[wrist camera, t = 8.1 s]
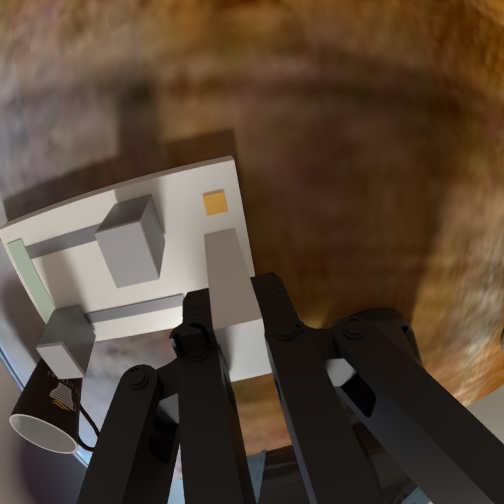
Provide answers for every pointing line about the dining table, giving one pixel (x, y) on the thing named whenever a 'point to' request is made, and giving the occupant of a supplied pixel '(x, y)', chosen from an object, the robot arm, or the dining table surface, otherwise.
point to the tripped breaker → (132, 241)
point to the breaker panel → (93, 263)
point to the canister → (502, 343)
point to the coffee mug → (51, 411)
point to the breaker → (67, 342)
